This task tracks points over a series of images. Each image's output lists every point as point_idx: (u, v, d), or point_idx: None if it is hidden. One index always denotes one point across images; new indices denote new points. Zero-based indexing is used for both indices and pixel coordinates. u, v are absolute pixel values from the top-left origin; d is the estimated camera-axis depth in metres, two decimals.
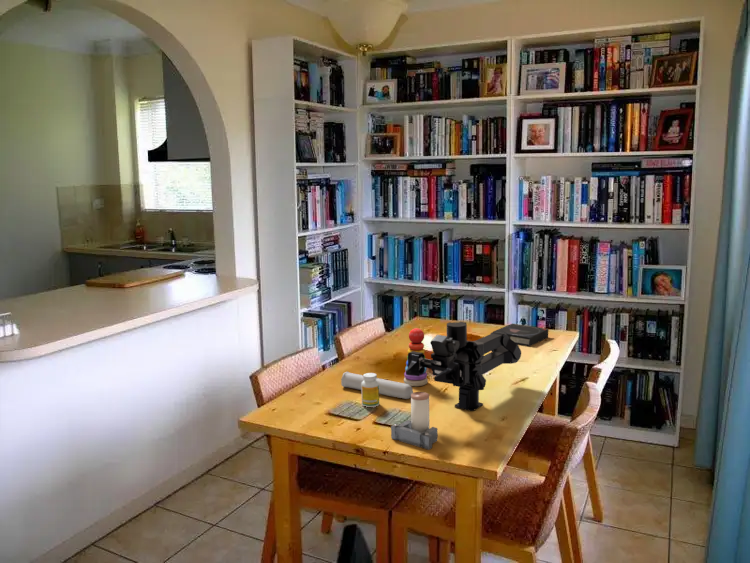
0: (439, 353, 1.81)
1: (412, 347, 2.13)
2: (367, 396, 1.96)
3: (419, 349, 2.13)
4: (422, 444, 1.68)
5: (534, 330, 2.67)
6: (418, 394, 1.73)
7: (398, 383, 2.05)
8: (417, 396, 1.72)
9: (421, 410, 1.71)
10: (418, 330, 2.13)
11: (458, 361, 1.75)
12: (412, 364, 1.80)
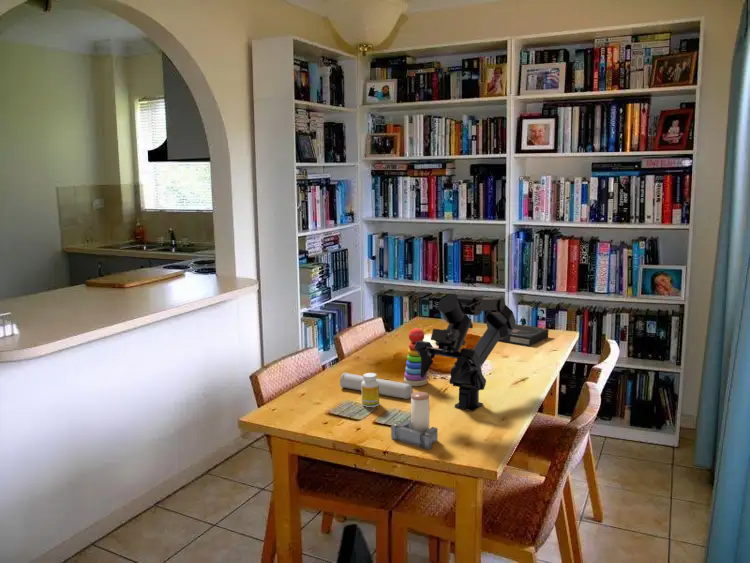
0: (443, 342, 1.81)
1: (412, 347, 2.13)
2: (367, 396, 1.96)
3: None
4: (422, 444, 1.68)
5: (534, 330, 2.67)
6: (418, 394, 1.73)
7: (398, 383, 2.05)
8: (417, 396, 1.72)
9: (421, 410, 1.71)
10: (418, 330, 2.13)
11: (464, 353, 1.76)
12: (423, 363, 1.82)
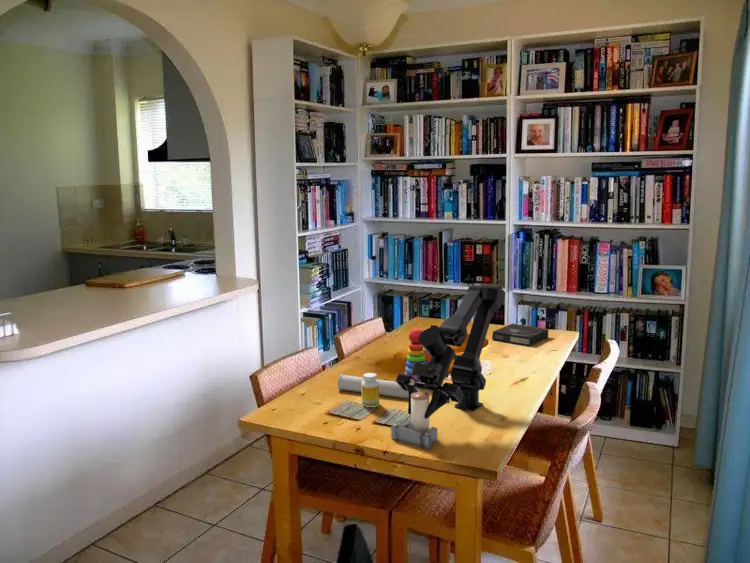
0: (424, 376, 1.75)
1: (412, 347, 2.13)
2: (367, 396, 1.96)
3: (419, 349, 2.13)
4: (422, 444, 1.68)
5: (534, 330, 2.67)
6: (418, 394, 1.73)
7: None
8: (417, 396, 1.72)
9: (421, 410, 1.71)
10: (418, 330, 2.13)
11: (446, 388, 1.70)
12: (410, 398, 1.75)
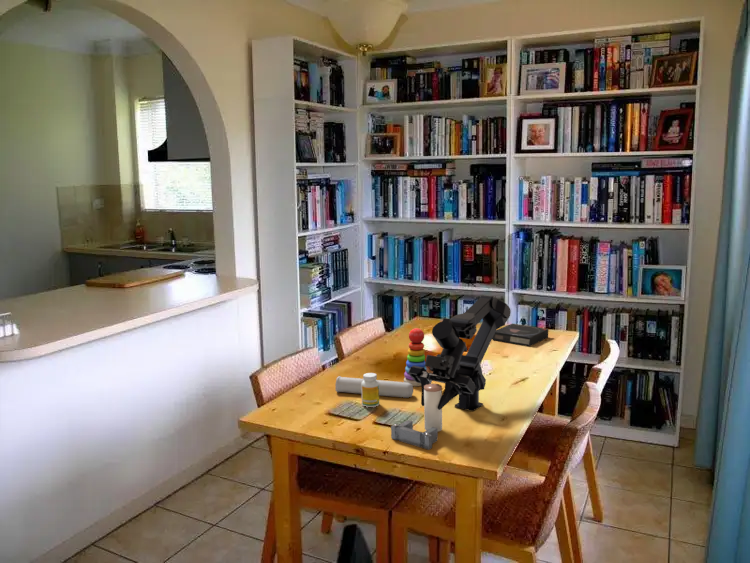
0: (437, 368, 1.78)
1: (412, 347, 2.13)
2: (367, 396, 1.96)
3: (419, 349, 2.13)
4: (422, 444, 1.68)
5: (534, 330, 2.67)
6: (431, 386, 1.77)
7: (398, 382, 2.05)
8: (430, 388, 1.75)
9: (434, 401, 1.75)
10: (418, 330, 2.13)
11: (459, 380, 1.74)
12: (423, 390, 1.79)
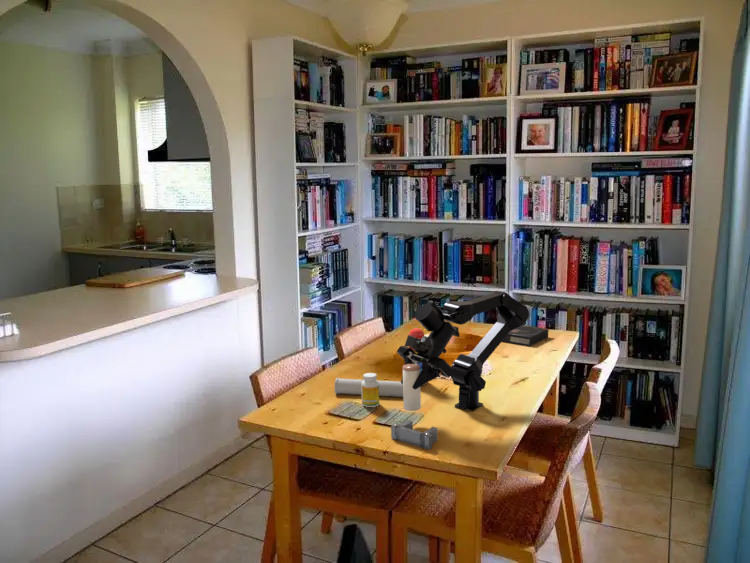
0: None
1: None
2: (367, 396, 1.96)
3: None
4: (422, 444, 1.68)
5: (534, 330, 2.67)
6: (410, 365, 1.81)
7: (398, 382, 2.05)
8: (407, 367, 1.80)
9: (409, 381, 1.79)
10: (418, 330, 2.13)
11: (433, 362, 1.76)
12: None
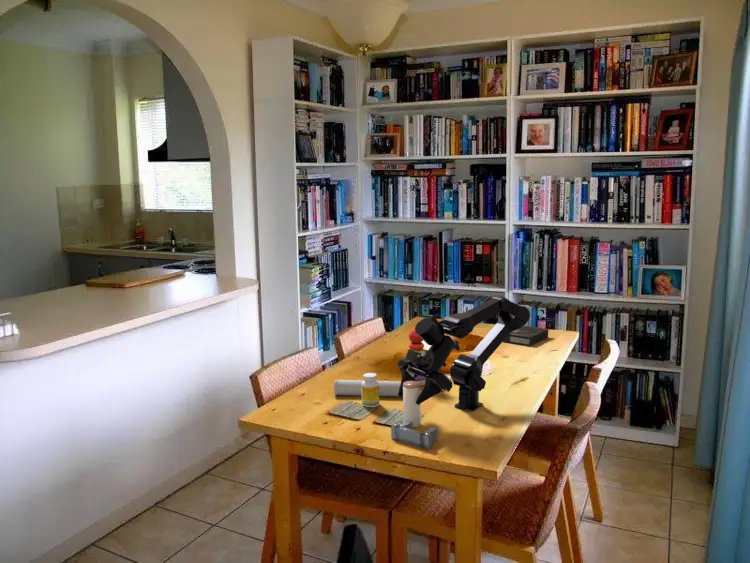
0: None
1: (412, 347, 2.13)
2: (367, 396, 1.96)
3: (419, 349, 2.13)
4: (422, 444, 1.68)
5: (534, 330, 2.67)
6: (410, 383, 1.82)
7: (398, 382, 2.06)
8: (408, 384, 1.81)
9: (410, 398, 1.80)
10: None
11: (433, 376, 1.77)
12: (402, 382, 1.86)
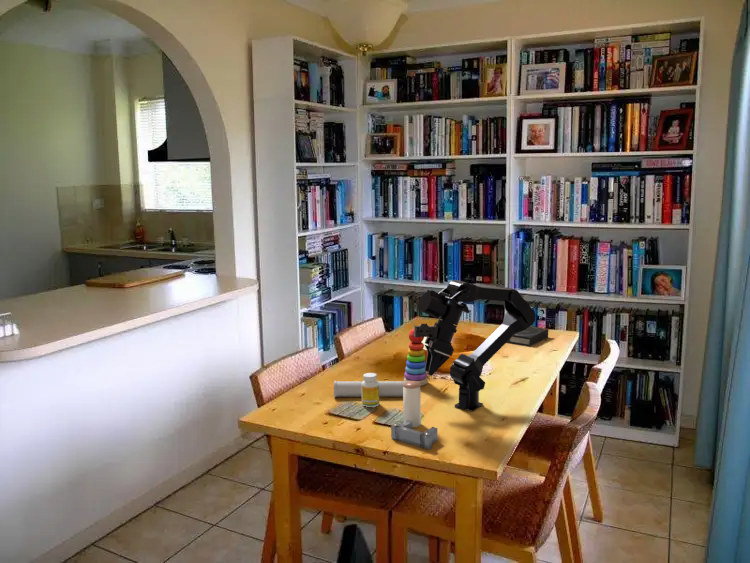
0: None
1: (412, 347, 2.13)
2: (367, 396, 1.96)
3: (419, 349, 2.13)
4: (422, 444, 1.68)
5: (534, 330, 2.67)
6: (410, 383, 1.82)
7: (398, 382, 2.06)
8: (408, 384, 1.81)
9: (410, 398, 1.80)
10: None
11: (430, 345, 1.81)
12: (427, 357, 1.93)
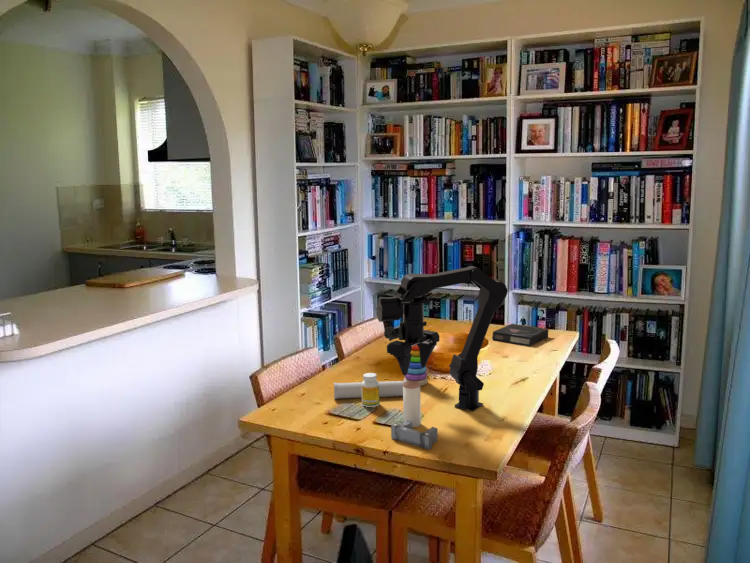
0: None
1: (412, 347, 2.13)
2: (367, 396, 1.96)
3: (419, 349, 2.13)
4: (422, 444, 1.68)
5: (534, 330, 2.67)
6: (410, 383, 1.82)
7: (398, 382, 2.06)
8: (408, 384, 1.81)
9: (409, 398, 1.80)
10: None
11: None
12: None
